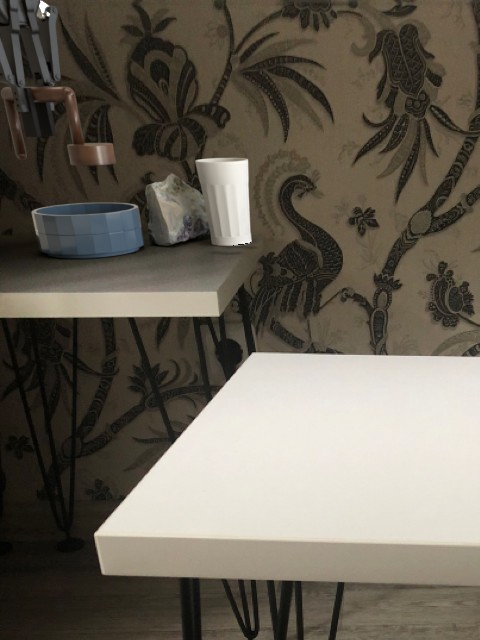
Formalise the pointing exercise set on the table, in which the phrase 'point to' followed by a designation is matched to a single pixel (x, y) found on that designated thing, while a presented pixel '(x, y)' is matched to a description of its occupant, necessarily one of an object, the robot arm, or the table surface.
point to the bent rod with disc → (78, 150)
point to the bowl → (88, 229)
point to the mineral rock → (175, 211)
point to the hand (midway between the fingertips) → (41, 136)
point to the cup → (226, 199)
